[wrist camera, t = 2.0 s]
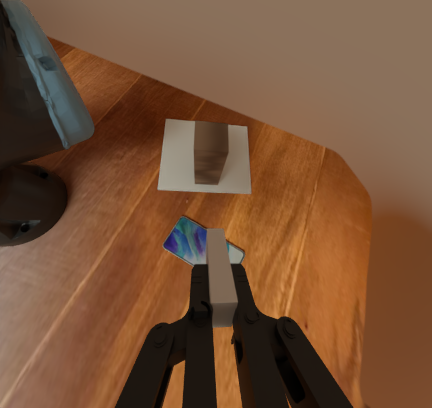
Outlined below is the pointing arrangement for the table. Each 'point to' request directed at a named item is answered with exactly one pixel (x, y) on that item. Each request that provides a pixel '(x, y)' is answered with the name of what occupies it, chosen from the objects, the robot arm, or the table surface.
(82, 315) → the table surface
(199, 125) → the walnut block
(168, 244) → the smartphone
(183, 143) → the mat
